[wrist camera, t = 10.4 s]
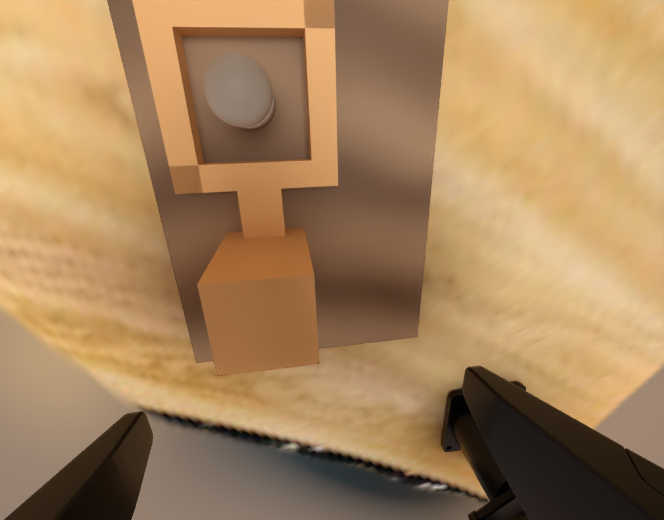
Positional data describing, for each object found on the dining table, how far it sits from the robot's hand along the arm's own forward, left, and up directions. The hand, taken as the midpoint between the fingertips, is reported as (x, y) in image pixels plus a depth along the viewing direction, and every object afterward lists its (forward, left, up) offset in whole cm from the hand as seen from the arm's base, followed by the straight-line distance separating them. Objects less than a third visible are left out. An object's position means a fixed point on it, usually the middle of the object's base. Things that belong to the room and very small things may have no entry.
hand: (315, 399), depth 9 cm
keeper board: (+4, 0, -11) cm, 12 cm away
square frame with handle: (+5, +2, -9) cm, 11 cm away
